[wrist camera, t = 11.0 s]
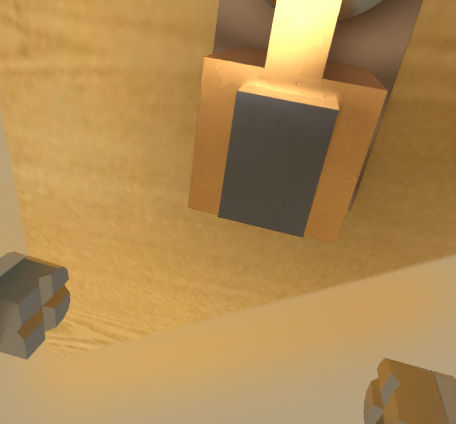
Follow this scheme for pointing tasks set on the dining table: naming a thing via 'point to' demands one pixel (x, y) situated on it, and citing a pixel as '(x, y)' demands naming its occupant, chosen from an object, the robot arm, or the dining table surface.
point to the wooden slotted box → (300, 85)
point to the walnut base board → (341, 41)
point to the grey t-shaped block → (275, 158)
